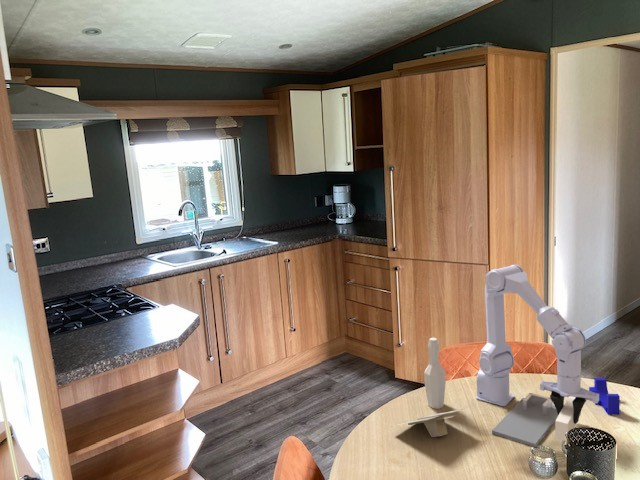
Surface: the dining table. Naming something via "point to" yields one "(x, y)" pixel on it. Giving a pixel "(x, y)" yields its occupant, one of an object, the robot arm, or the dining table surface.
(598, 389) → the blue stepped block
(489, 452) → the dining table surface
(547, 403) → the grey base plate
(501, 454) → the dining table surface
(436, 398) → the low poly bottle
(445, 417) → the tilted plate on foot
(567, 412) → the white rail
